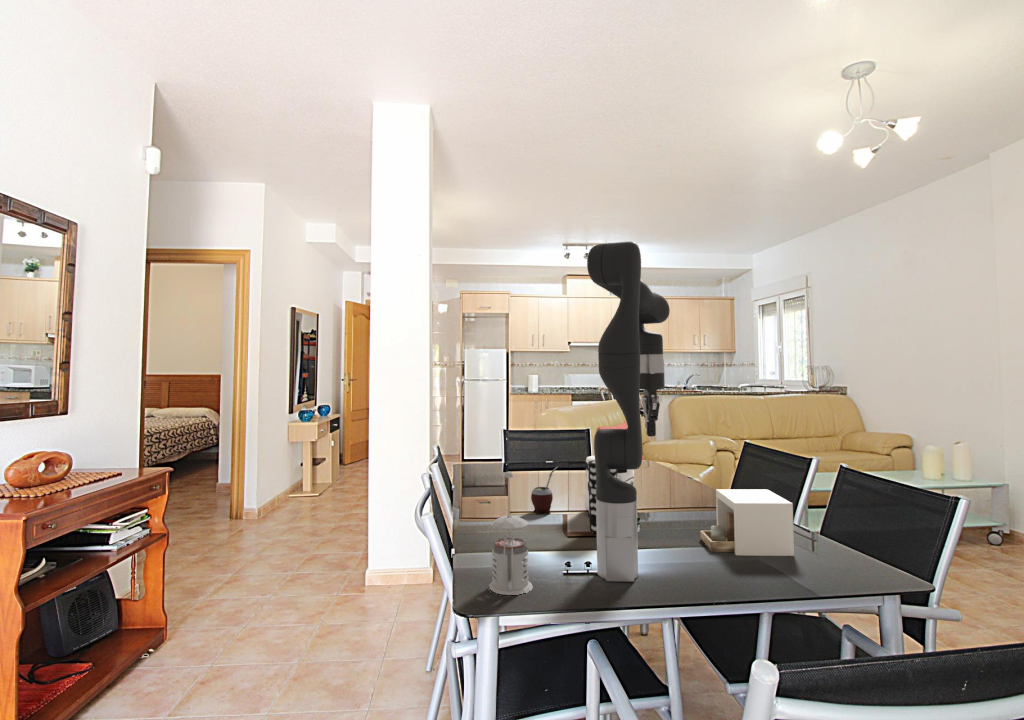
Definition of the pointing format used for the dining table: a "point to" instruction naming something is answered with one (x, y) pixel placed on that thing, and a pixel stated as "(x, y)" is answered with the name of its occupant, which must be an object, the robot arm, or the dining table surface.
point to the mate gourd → (542, 498)
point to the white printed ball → (621, 475)
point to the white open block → (757, 521)
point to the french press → (510, 556)
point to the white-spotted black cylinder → (594, 494)
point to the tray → (717, 543)
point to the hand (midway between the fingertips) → (651, 435)
